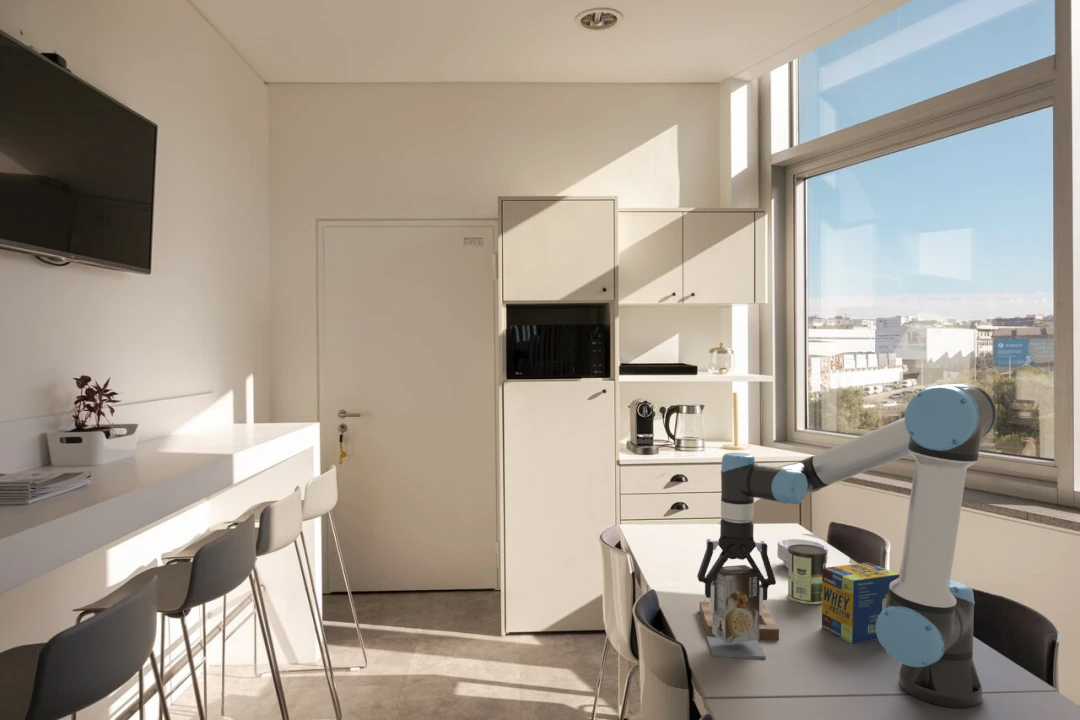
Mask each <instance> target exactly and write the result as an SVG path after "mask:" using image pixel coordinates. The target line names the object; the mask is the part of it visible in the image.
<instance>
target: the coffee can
mask: <svg viewBox="0 0 1080 720" xmlns="http://www.w3.org/2000/svg"><path fill="white" fill-rule="evenodd" d="M826 553H827V551H826V550H825V549H823V548H821V547H818V546H813V545H805V544H797V545H791V546H789V547H788V568H787V571H788V575H787V597H788V599H789V600H792V601H793V602H796V603H799V604H805V605H820V604H821V605H822V574H823V568H827V563H826Z"/></svg>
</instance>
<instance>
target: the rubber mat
mask: <svg viewBox="0 0 1080 720" xmlns="http://www.w3.org/2000/svg"><path fill="white" fill-rule="evenodd" d="M706 641H707V643H708V647H709V649H710V650H709V651H710V654H711V656H712V657H719V658H720V657H721V658H738V659H755V660H756V659H759V660H760V659H761V660H766V659H767V655H766V654H765V652H764V650H763V648H762V645H761V643H760V642H759V640H750V641H742V642H733V643H724V642H723V641H722V640H720V639H719V638H718V637H713V636H708V635H707V636H706Z"/></svg>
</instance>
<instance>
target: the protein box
mask: <svg viewBox="0 0 1080 720" xmlns="http://www.w3.org/2000/svg"><path fill="white" fill-rule="evenodd" d="M899 575H900V573H897V572H894V571H892V570H889V569H886V568H884V567H882V566H878V565H876V564H874V563H871V562H868V561H866V562H865V561H864V562H860V563H852V564H842V565H835V566H830V567H829V566H828V567H827V566H826V568H823V574H822V604H821V629H823V630H826V631H827V632H830V633H831V634H832V635H835V636H836V637H839V638H841V639H842V640H845V641H847V642H848V643H851V644H855V643H862V642H867V641H873V640H878V637H877V634H876V621H877V618H878V616H879V615H880V613H881V611H882V610H884V609H886V605H887V598H888V591H889V585H890V583H891V582H892V581H894V580H896V579H898V578H899Z"/></svg>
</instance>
